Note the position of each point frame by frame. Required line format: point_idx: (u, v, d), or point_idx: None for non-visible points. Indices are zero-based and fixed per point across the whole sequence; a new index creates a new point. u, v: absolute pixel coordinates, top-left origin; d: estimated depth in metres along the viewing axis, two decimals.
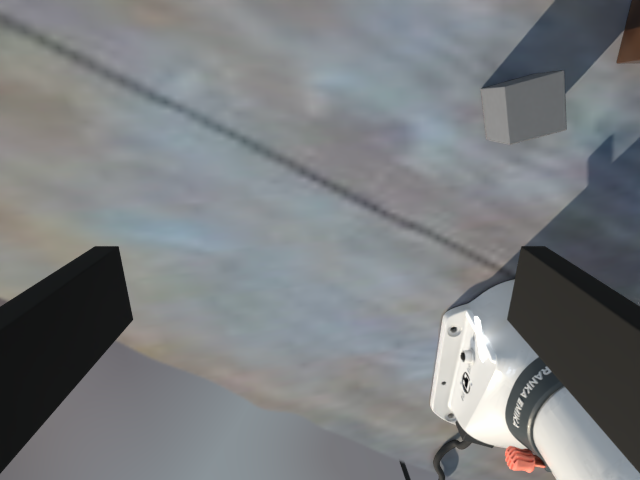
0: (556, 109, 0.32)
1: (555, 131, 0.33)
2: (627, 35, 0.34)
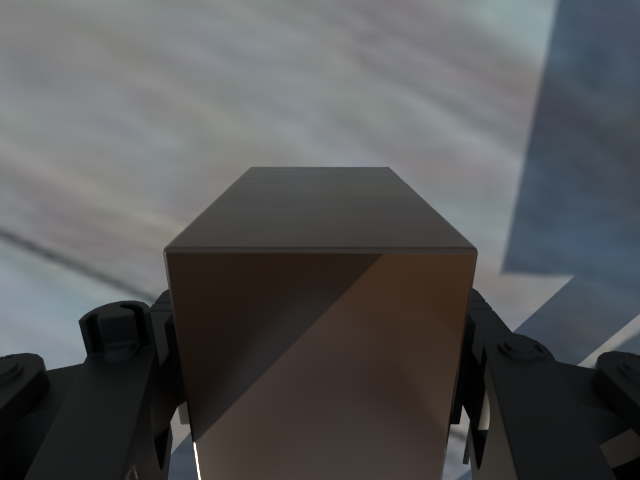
0: None
1: None
2: None
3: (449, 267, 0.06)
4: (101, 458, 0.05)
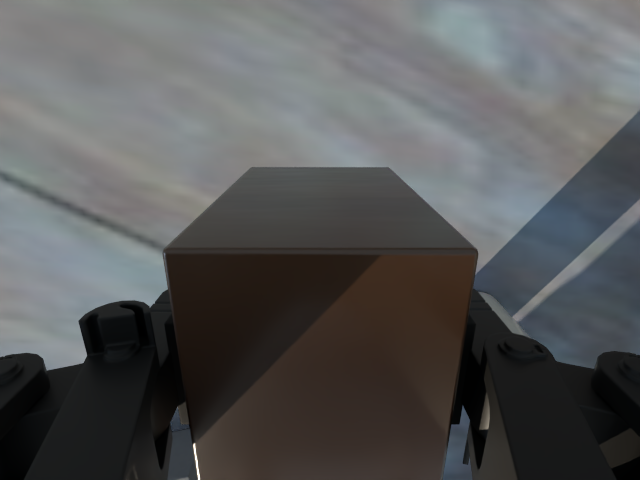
0: None
1: None
2: None
3: (450, 269, 0.06)
4: (101, 458, 0.05)
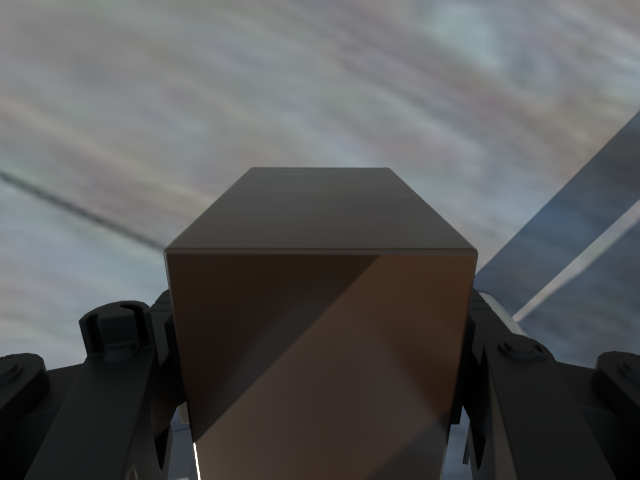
0: None
1: None
2: None
3: (449, 269, 0.06)
4: (101, 458, 0.05)
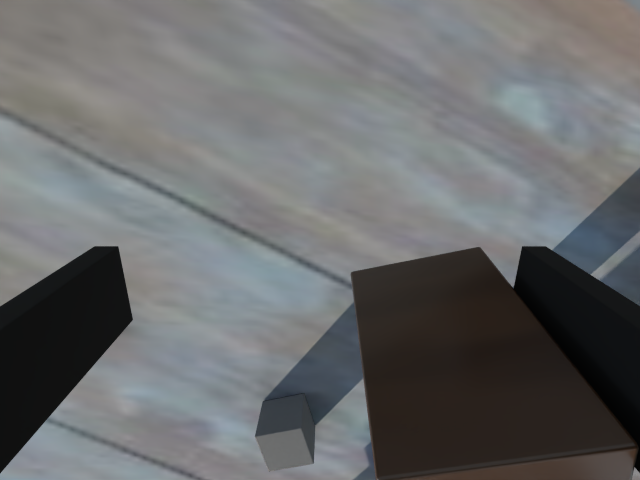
0: (301, 451, 0.39)
1: (304, 464, 0.40)
2: None
3: (614, 460, 0.07)
4: None
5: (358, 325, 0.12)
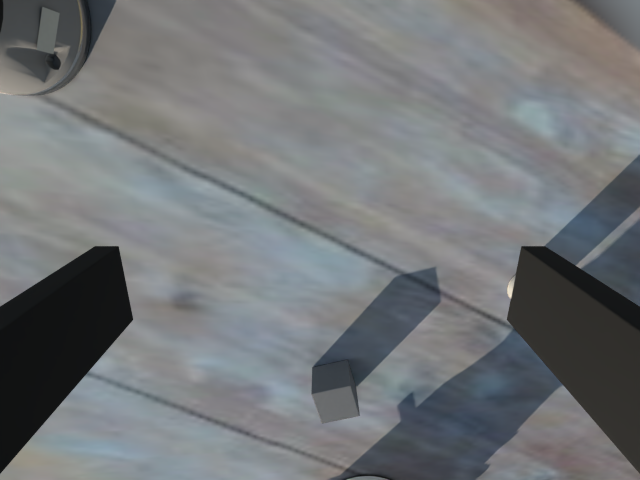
0: (349, 405, 0.47)
1: (352, 416, 0.48)
2: None
3: None
4: None
5: None
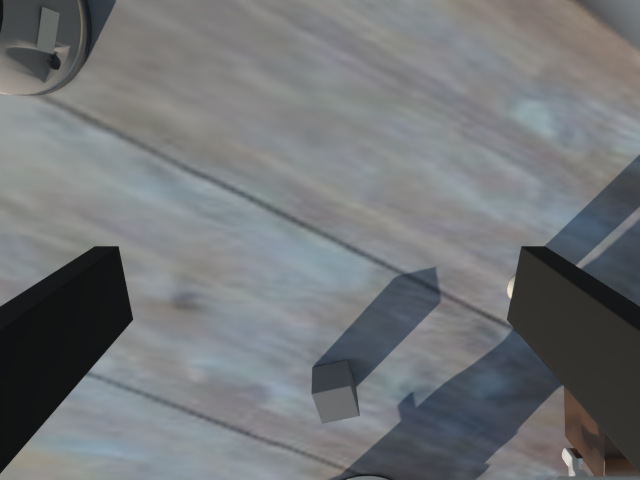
0: (349, 405, 0.47)
1: (352, 416, 0.48)
2: (567, 428, 0.54)
3: None
4: None
5: None
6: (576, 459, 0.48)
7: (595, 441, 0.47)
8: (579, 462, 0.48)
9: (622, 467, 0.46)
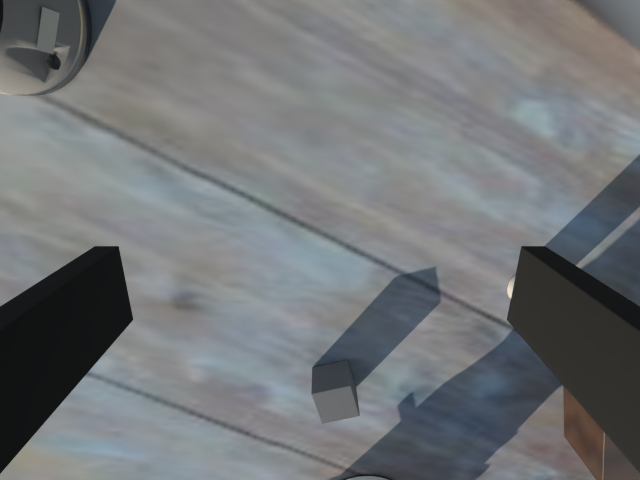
0: (349, 405, 0.47)
1: (352, 416, 0.48)
2: (566, 428, 0.54)
3: None
4: None
5: None
6: None
7: (594, 442, 0.47)
8: None
9: (621, 467, 0.46)
